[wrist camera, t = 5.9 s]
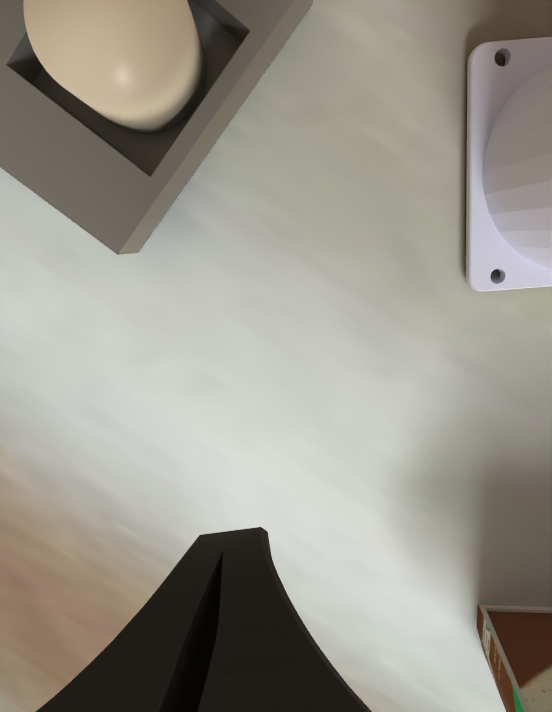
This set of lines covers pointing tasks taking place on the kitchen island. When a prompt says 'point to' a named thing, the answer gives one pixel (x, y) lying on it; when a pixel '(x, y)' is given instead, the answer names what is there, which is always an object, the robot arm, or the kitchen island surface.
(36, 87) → the grey slotted tray
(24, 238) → the kitchen island surface
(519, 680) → the food container
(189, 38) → the cream rounded block
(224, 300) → the kitchen island surface
